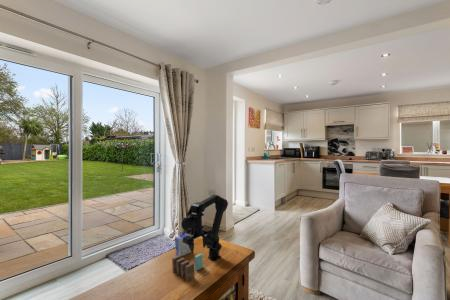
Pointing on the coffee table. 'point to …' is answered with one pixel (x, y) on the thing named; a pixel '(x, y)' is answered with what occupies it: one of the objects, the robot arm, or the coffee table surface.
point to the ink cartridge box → (181, 245)
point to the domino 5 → (198, 262)
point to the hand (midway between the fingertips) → (198, 250)
